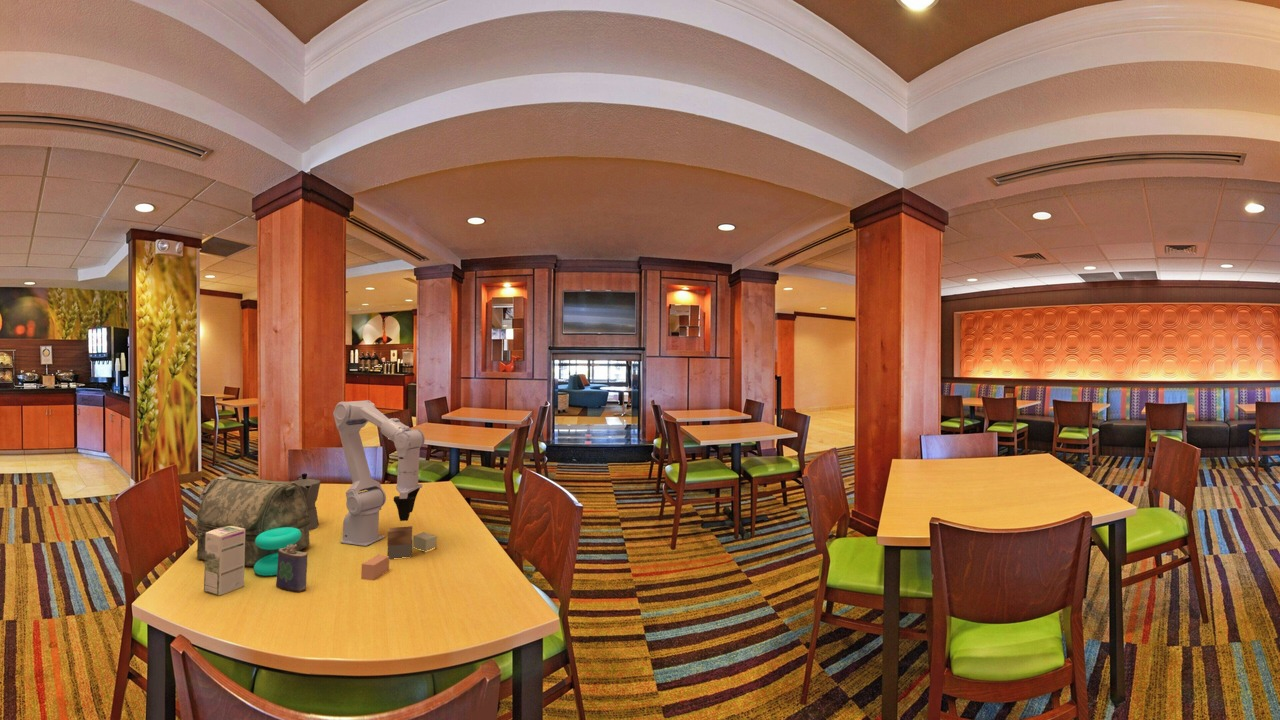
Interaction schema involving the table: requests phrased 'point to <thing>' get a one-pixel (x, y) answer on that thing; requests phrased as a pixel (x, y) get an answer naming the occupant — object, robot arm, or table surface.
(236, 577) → the syrup box
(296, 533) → the donuts
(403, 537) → the walnut block
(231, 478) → the lunch bag
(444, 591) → the table surface
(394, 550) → the charcoal block
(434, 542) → the sage block
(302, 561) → the flask
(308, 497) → the coffeepot
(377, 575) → the terracotta block
